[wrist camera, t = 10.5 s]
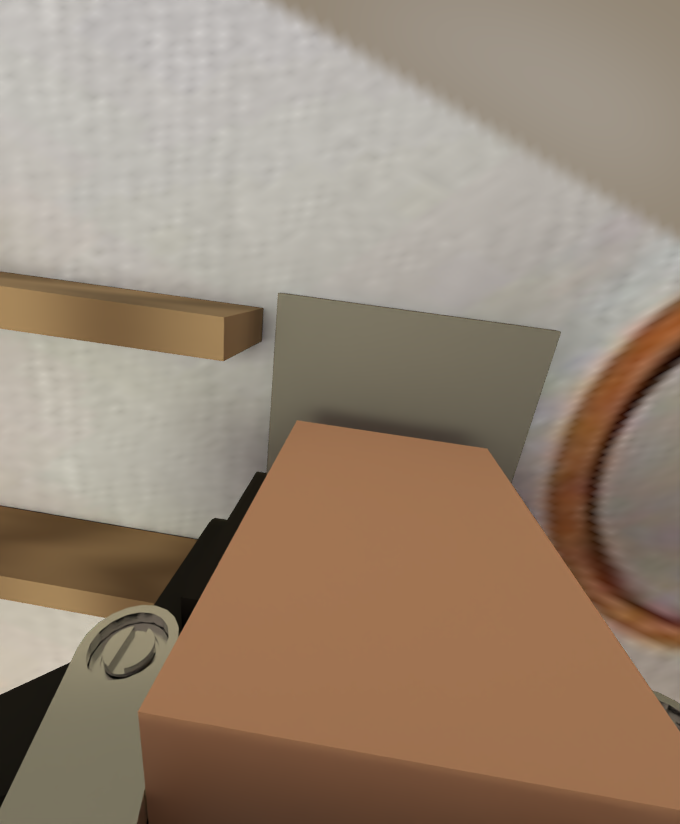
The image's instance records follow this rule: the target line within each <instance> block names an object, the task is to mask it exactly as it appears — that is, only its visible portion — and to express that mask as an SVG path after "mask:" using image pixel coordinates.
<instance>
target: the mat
mask: <svg viewBox="0 0 680 824" xmlns="http://www.w3.org/2000/svg"><path fill="white" fill-rule="evenodd" d="M560 334H561V332H560V331H556V330H549V329H541V328H534V327H527V326H519V325H512V324H505V323H497V322H490V321H483V320H475V319H468V318H461V317H453V316H446V315H439V314H431V313H424V312H417V311H409V310H402V309H395V308H387V307H380V306H373V305H365V304H358V303H351V302H343V301H336V300H329V299H321V298H314V297H307V296H299V295H292V294H285V293H278V302H277V317H276V333H275V349H274V365H273V380H272V396H271V412H270V428H269V444H268V459H267V473H268V472H269V471H270V469H271V467H272V465H273V463H274V461H275V460H276V458H277V456H278V454H279V452H280V450H281V449H282V447H283V445H284V443H285V441H286V439H287V438H288V436H289V434H290V432H291V430H292V428H293V427H294V425H295V423H296V421H297V420H298V421H305V422H312V423H318V424H325V425H332V426H339V427H345V428H352V429H359V430H365V431H372V432H379V433H386V434H392V435H399V436H406V437H413V438H419V439H426V440H433V441H440V442H446V443H453V444H460V445H466V446H473V447H480V448H487V449H488V450H489V452H490V453H491V455H492V456H493V458H494V459H495V461H496V462H497V464H498V465H499V467H500V468H501V469H502V471H503V472H504V474H505V475H506V477H507V478H508V480H509V481H510V483H512V480H513V477H514V474H515V471H516V468H517V464H518V461H519V458H520V455H521V452H522V449H523V446H524V443H525V440H526V437H527V434H528V431H529V428H530V425H531V422H532V419H533V416H534V413H535V410H536V407H537V404H538V401H539V397H540V394H541V391H542V388H543V385H544V382H545V379H546V376H547V373H548V370H549V367H550V364H551V361H552V358H553V355H554V352H555V349H556V346H557V343H558V340H559V337H560Z"/></svg>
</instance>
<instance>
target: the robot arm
mask: <svg viewBox="0 0 680 824" xmlns="http://www.w3.org/2000/svg"><path fill="white" fill-rule="evenodd" d="M267 474H268V473H263V472H257V473H256V474H255V475H254V477H253V479H252V480H251V482H250V484H249V485H248V487H247V489H246V490H245V492H244V493H243V495H242V497H241V498H240V500H239V502H238V503H237V505H236V507H235V508H234V510H233V512H232V513H231V515H230V517H229V518H228V520H224V519H218V518H214V519H212V520H211V521H210V523H209V524H208V525H207V527H206V528H205V530H204V531H203V533H202V534H201V536H200V537H199V539H198V540H197V542H196V543H195V545H194V546H193V547H192V549H191V550H190V552H189V553H188V555H187V556H186V558H185V559H184V561H183V562H182V564H181V565H180V567H179V568H178V570H177V571H176V573H175V574H174V576H173V577H172V579H171V580H170V582H169V583H168V585H167V586H166V587H165V589H164V590H163V592H162V593H161V595H160V596H159V598H158V599H157V601H156V602H155V604H154V605H153V606H152V605H140V606H134V607H128V608H126V609H123V610H121V611H118V612H116V613H113V614H111V615H110V616H108V617H107V618H105V619H104V620H102V621H100V622H99V623H98V624H97V625H96V626H95V627H94V628H92V629H91V630H90V631H89V632H88V633H87V634H86V636H85V637H84V639H83V640H82V642H81V643H80V645H79V646H78V648H77V650H76V652H75V654H74V656H73V658H72V660H71V662H70V663H68V664H66V665H64V666H62V667H59V668H57V669H55V670H53V671H51V672H49V673H46V674H44V675H42V676H40V677H38V678H36V679H34V680H31V681H29V682H27V683H25V684H23V685H21V686H18V687H16V688H14V689H12V690H10V691H8V692H5V693H3V694H1V695H0V824H149V821H148V811H147V800H146V790H145V780H144V770H143V759H142V749H141V739H140V729H139V718H138V710H139V709H140V707H141V705H142V703H143V701H144V699H145V698H146V696H147V694H148V692H149V690H150V688H151V687H152V685H153V683H154V681H155V679H156V677H157V676H158V674H159V672H160V670H161V668H162V666H163V665H164V663H165V661H166V659H167V657H168V656H169V654H170V652H171V650H172V648H173V646H174V645H175V643H176V641H177V639H178V637H179V635H180V634H181V632H182V630H183V628H184V626H185V624H186V623H187V621H188V619H189V617H190V615H191V613H192V612H193V610H194V608H195V606H196V604H197V602H198V601H199V599H200V597H201V595H202V593H203V591H204V590H205V588H206V586H207V584H208V582H209V580H210V579H211V577H212V575H213V573H214V571H215V569H216V568H217V566H218V564H219V562H220V560H221V558H222V557H223V555H224V553H225V551H226V549H227V547H228V546H229V544H230V542H231V540H232V538H233V536H234V535H235V533H236V531H237V529H238V527H239V525H240V524H241V522H242V520H243V518H244V516H245V515H246V513H247V511H248V509H249V507H250V505H251V504H252V502H253V500H254V498H255V496H256V494H257V493H258V491H259V489H260V487H261V485H262V483H263V482H264V480H265V478H266V476H267ZM652 692H653V693H654V694H655V696H656V697H657V699H658V700H659V702H660V703H661V705H662V706H663V708H664V709H665V711H666V712H667V714H668V715H669V717H670V718H671V719H672V721H673V722H674V724H675V725H676V727H677V728H678V730H679V731H680V704H679V703H678V702H676V701H675V700H673V699H670V698H668V697H666V696H664V695H662V694H660V693H658V692H655V691H652Z"/></svg>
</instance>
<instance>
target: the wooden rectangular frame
mask: <svg viewBox="0 0 680 824" xmlns="http://www.w3.org/2000/svg"><path fill="white" fill-rule="evenodd" d="M262 321H263V308H259V307H252V306H245V305H237V304H230V303H223V302H216V301H209V300H201V299H194V298H187V297H180V296H172V295H165V294H158V293H151V292H144V291H136V290H129V289H122V288H115V287H108V286H100V285H93V284H86V283H79V282H72V281H64V280H57V279H50V278H43V277H35V276H28V275H21V274H14V273H7V272H0V328H1V329H8V330H15V331H21V332H28V333H35V334H42V335H49V336H56V337H62V338H69V339H76V340H83V341H90V342H97V343H103V344H110V345H117V346H124V347H131V348H137V349H144V350H151V351H158V352H165V353H172V354H178V355H185V356H192V357H199V358H206V359H213V360H219V361H225V360H227V359H228V358H230V357H232V356H234V355H236V354H238V353H240V352H242V351H244V350H246V349H248V348H250V347H251V346H253V345H255V344H257V343H259V342H261V340H262ZM196 542H197V540H196V539H190V538H185V537H179V536H173V535H167V534H161V533H155V532H149V531H144V530H138V529H132V528H126V527H120V526H114V525H108V524H103V523H97V522H91V521H85V520H79V519H73V518H67V517H62V516H56V515H50V514H44V513H38V512H32V511H26V510H21V509H15V508H9V507H3V506H0V599H6V600H11V601H17V602H22V603H28V604H33V605H38V606H44V607H49V608H55V609H60V610H66V611H71V612H77V613H82V614H88V615H93V616H98V617H104V618H107V617H108V616H110V615H111V614H113V613H116V612H118V611H121V610H123V609H126V608H128V607H134V606H140V605H152V606H153V605H154V604H155V602H156V601H157V599H158V598H159V596H160V595H161V593H162V592H163V590H164V589H165V587H166V586H167V585H168V583H169V582H170V580H171V579H172V577H173V576H174V574H175V573H176V571H177V570H178V568H179V567H180V565H181V564H182V562H183V561H184V559H185V558H186V556H187V555H188V553H189V552H190V550H191V549H192V547H193V546H194V545H195V543H196Z"/></svg>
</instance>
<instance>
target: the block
mask: <svg viewBox="0 0 680 824" xmlns="http://www.w3.org/2000/svg"><path fill="white" fill-rule="evenodd" d="M138 718H139V729H140V739H141V749H142V759H143V770H144V780H145V790H146V800H147V811H148V821H149V824H680V731H679V730H678V728H677V727H676V725H675V724H674V722H673V721H672V719H671V718H670V717H669V715H668V714H667V712H666V711H665V709H664V708H663V706H662V705H661V703H660V702H659V700H658V699H657V697H656V696H655V694H654V693H653V692H652V690H651V689H650V687H649V686H648V684H647V683H646V681H645V680H644V678H643V677H642V675H641V674H640V672H639V671H638V669H637V668H636V667H635V665H634V664H633V662H632V661H631V659H630V658H629V656H628V655H627V653H626V652H625V650H624V649H623V647H622V646H621V644H620V643H619V642H618V640H617V639H616V637H615V636H614V634H613V633H612V631H611V630H610V628H609V627H608V625H607V624H606V622H605V621H604V619H603V618H602V617H601V615H600V614H599V612H598V611H597V609H596V608H595V606H594V605H593V603H592V602H591V600H590V599H589V597H588V596H587V594H586V593H585V592H584V590H583V589H582V587H581V586H580V584H579V583H578V581H577V580H576V578H575V577H574V575H573V574H572V572H571V571H570V569H569V568H568V567H567V565H566V564H565V562H564V561H563V559H562V558H561V556H560V555H559V553H558V552H557V550H556V549H555V547H554V546H553V544H552V543H551V542H550V540H549V539H548V537H547V536H546V534H545V533H544V531H543V530H542V528H541V527H540V525H539V524H538V522H537V521H536V519H535V518H534V517H533V515H532V514H531V512H530V511H529V509H528V508H527V506H526V505H525V503H524V502H523V500H522V499H521V497H520V496H519V494H518V493H517V492H516V490H515V489H514V487H513V486H512V484H511V483H510V481H509V480H508V478H507V477H506V475H505V474H504V472H503V471H502V469H501V468H500V467H499V465H498V464H497V462H496V461H495V459H494V458H493V456H492V455H491V453H490V452H489V450H488V449H487V448H480V447H473V446H466V445H460V444H453V443H446V442H440V441H433V440H426V439H419V438H413V437H406V436H399V435H392V434H386V433H379V432H372V431H365V430H359V429H352V428H345V427H339V426H332V425H325V424H318V423H312V422H305V421H298V420H297V421H296V423H295V425H294V427H293V428H292V430H291V432H290V434H289V436H288V438H287V439H286V441H285V443H284V445H283V447H282V449H281V450H280V452H279V454H278V456H277V458H276V460H275V461H274V463H273V465H272V467H271V469H270V471H269V472H268V474H267V476H266V478H265V480H264V482H263V483H262V485H261V487H260V489H259V491H258V493H257V494H256V496H255V498H254V500H253V502H252V504H251V505H250V507H249V509H248V511H247V513H246V515H245V516H244V518H243V520H242V522H241V524H240V525H239V527H238V529H237V531H236V533H235V535H234V536H233V538H232V540H231V542H230V544H229V546H228V547H227V549H226V551H225V553H224V555H223V557H222V558H221V560H220V562H219V564H218V566H217V568H216V569H215V571H214V573H213V575H212V577H211V579H210V580H209V582H208V584H207V586H206V588H205V590H204V591H203V593H202V595H201V597H200V599H199V601H198V602H197V604H196V606H195V608H194V610H193V612H192V613H191V615H190V617H189V619H188V621H187V623H186V624H185V626H184V628H183V630H182V632H181V634H180V635H179V637H178V639H177V641H176V643H175V645H174V646H173V648H172V650H171V652H170V654H169V656H168V657H167V659H166V661H165V663H164V665H163V666H162V668H161V670H160V672H159V674H158V676H157V677H156V679H155V681H154V683H153V685H152V687H151V688H150V690H149V692H148V694H147V696H146V698H145V699H144V701H143V703H142V705H141V707H140V709H139V710H138Z"/></svg>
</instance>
